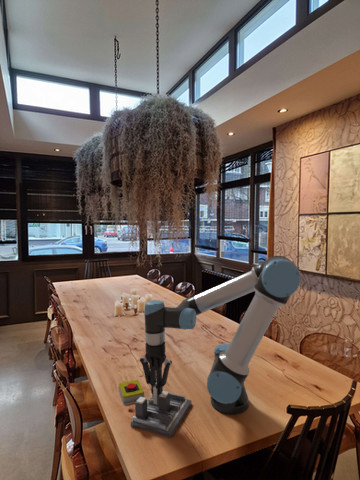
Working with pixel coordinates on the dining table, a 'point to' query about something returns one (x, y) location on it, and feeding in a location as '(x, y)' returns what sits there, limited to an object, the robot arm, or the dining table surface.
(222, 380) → the robot arm
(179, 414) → the panel
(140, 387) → the emergency button
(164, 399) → the block
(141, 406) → the block
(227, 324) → the dining table surface
